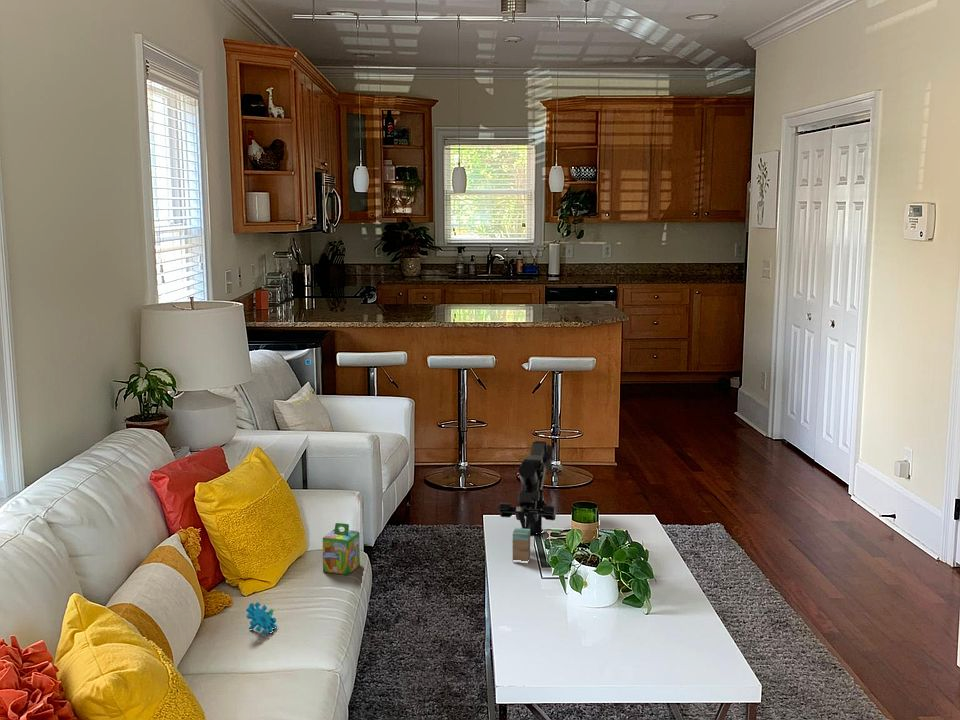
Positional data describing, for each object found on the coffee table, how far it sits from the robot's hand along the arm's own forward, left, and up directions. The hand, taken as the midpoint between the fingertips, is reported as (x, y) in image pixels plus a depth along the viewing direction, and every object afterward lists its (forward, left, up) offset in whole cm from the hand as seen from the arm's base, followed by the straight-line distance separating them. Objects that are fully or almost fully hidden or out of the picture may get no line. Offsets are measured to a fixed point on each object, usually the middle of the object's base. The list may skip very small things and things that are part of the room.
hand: (524, 534), depth 314 cm
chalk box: (-12, -59, -7) cm, 60 cm away
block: (+5, -3, -7) cm, 9 cm away
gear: (+21, -89, -7) cm, 92 cm away
